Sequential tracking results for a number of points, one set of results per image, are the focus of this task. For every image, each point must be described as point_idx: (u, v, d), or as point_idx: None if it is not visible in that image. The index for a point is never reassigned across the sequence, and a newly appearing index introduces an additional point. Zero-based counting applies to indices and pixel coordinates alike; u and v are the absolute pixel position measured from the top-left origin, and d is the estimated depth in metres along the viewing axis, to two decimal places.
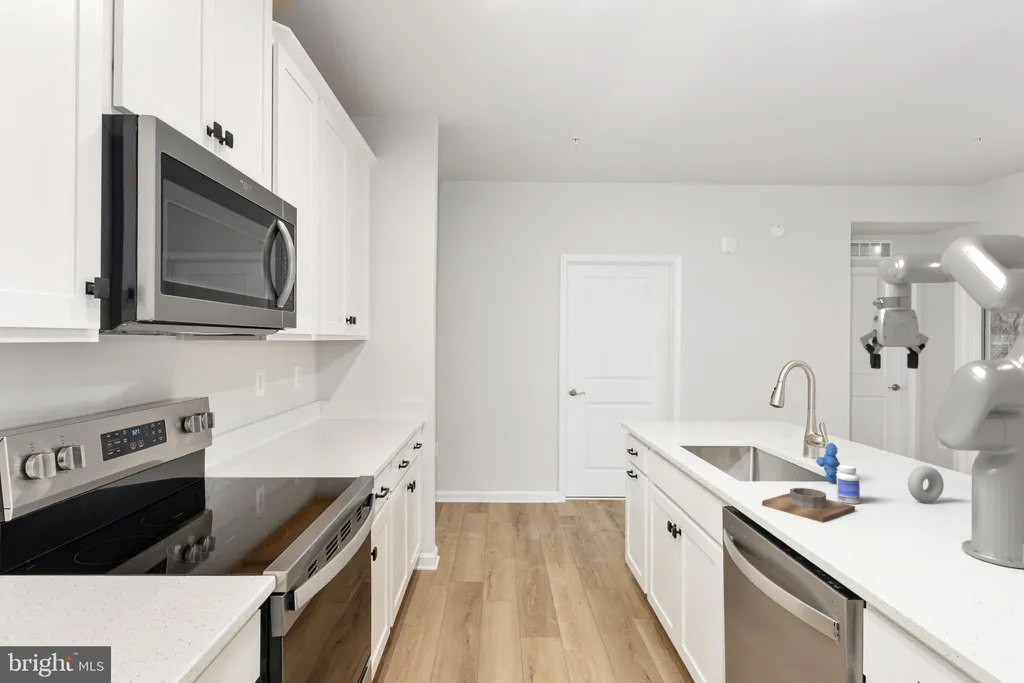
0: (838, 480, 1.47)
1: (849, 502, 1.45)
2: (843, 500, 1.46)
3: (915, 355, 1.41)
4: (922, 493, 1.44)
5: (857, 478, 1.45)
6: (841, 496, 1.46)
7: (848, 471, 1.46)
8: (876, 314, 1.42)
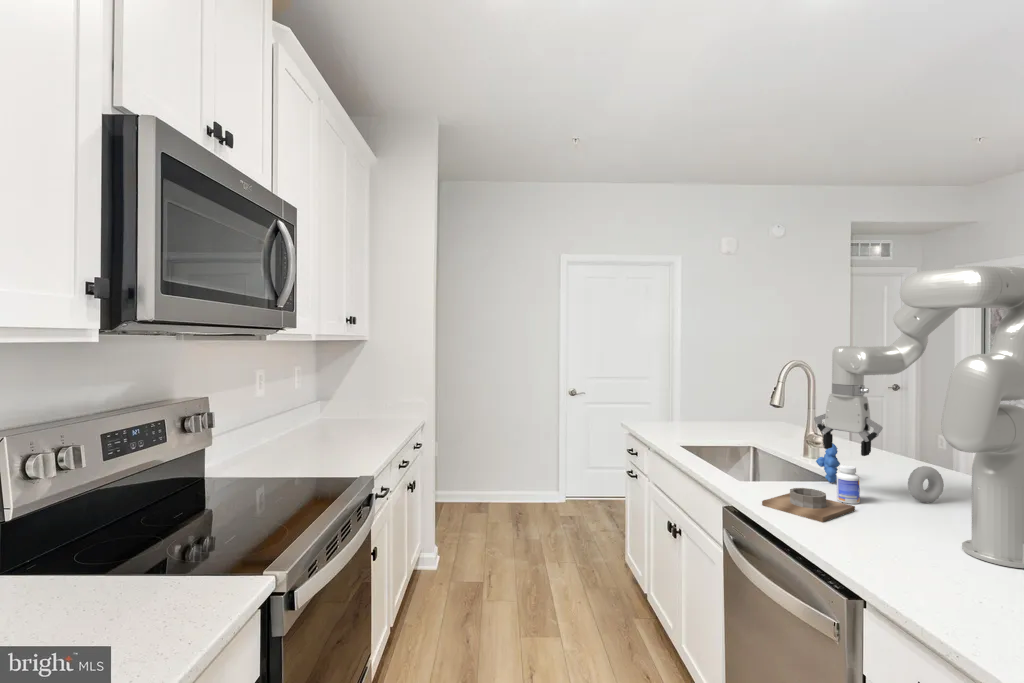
0: (838, 480, 1.47)
1: (849, 502, 1.45)
2: (843, 500, 1.46)
3: None
4: (922, 493, 1.44)
5: (857, 478, 1.45)
6: (841, 496, 1.46)
7: (848, 471, 1.46)
8: (865, 401, 1.43)
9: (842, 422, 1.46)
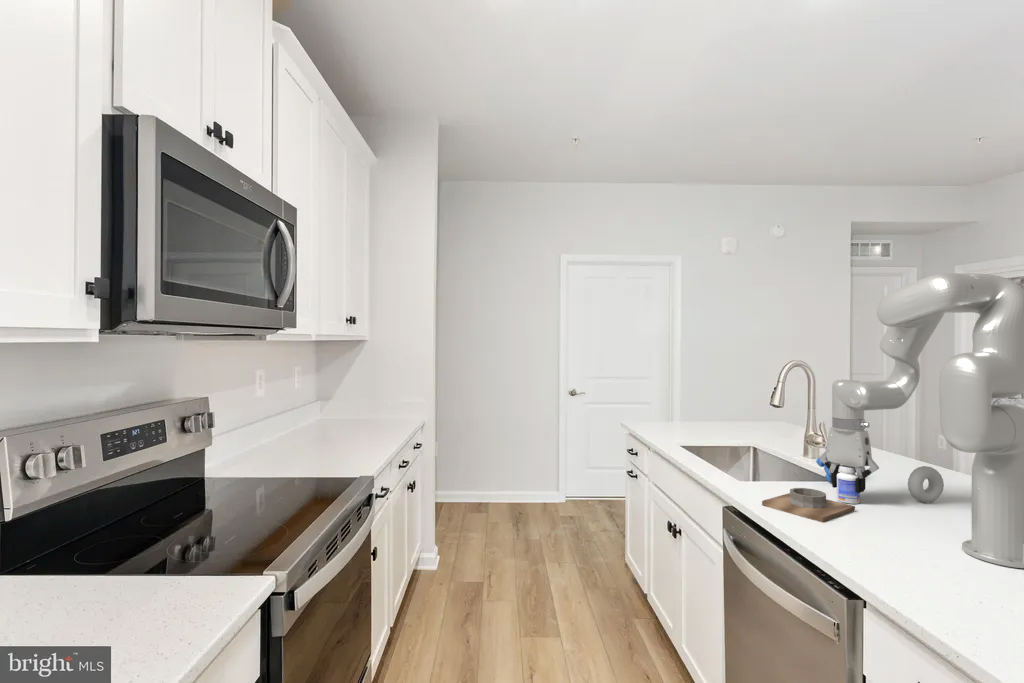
0: (838, 480, 1.47)
1: (849, 502, 1.45)
2: (843, 500, 1.46)
3: None
4: (922, 493, 1.44)
5: None
6: (841, 496, 1.46)
7: (848, 471, 1.46)
8: (866, 436, 1.43)
9: (844, 457, 1.46)
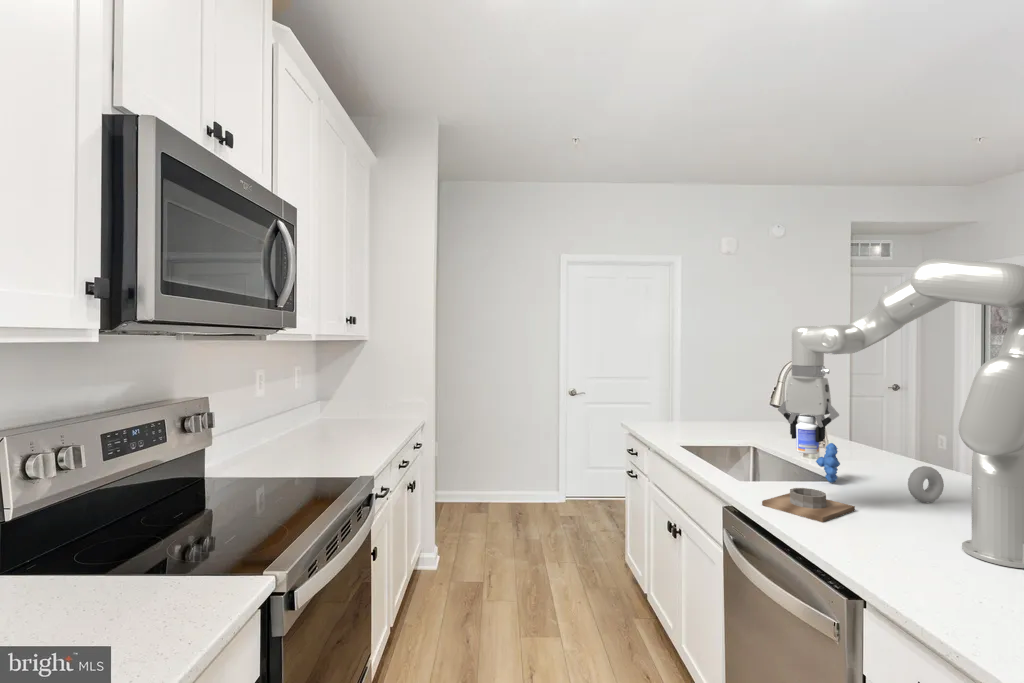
0: (798, 430, 1.41)
1: (809, 452, 1.39)
2: (803, 450, 1.40)
3: None
4: (922, 493, 1.44)
5: None
6: (801, 446, 1.40)
7: (807, 420, 1.40)
8: (826, 382, 1.38)
9: (803, 405, 1.40)
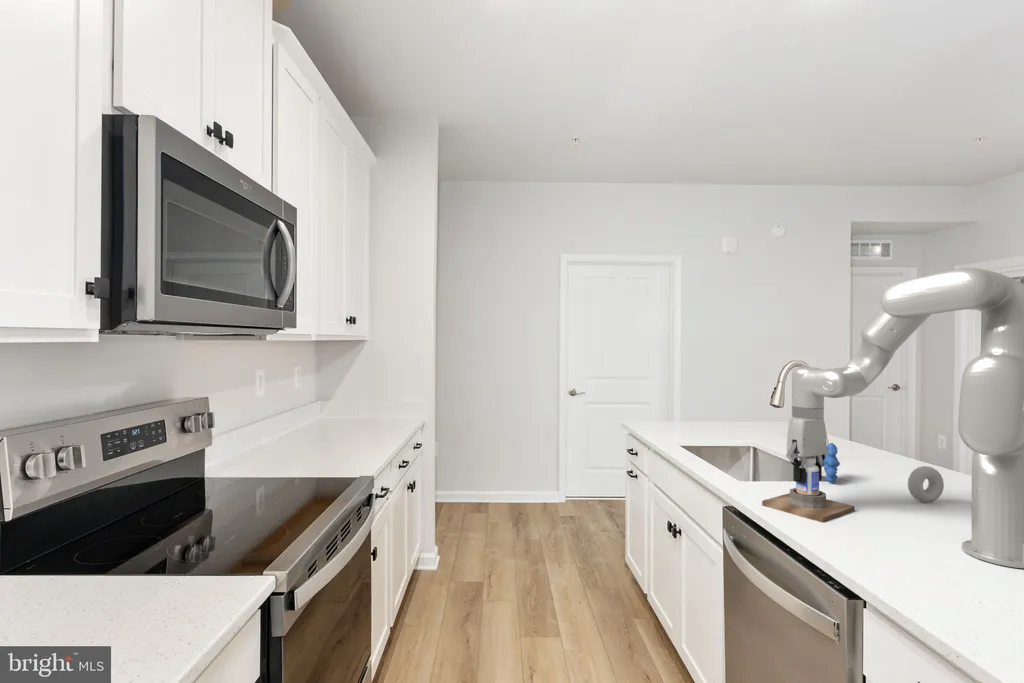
0: (811, 474, 1.39)
1: None
2: (817, 493, 1.39)
3: None
4: (922, 493, 1.44)
5: None
6: (815, 489, 1.39)
7: (815, 461, 1.40)
8: None
9: (815, 447, 1.40)
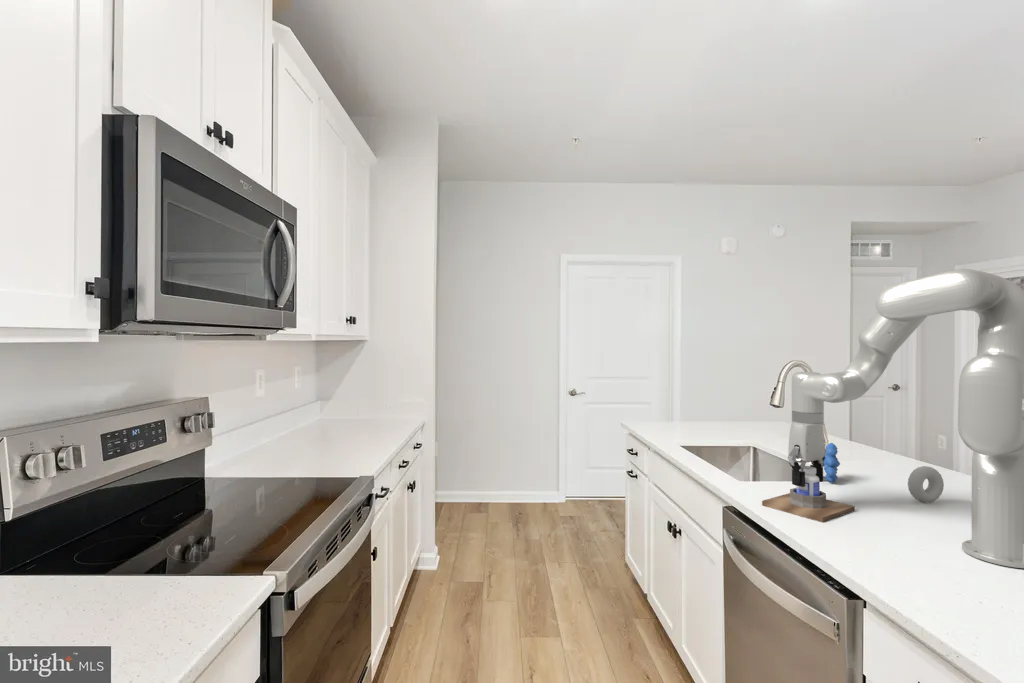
0: (813, 484, 1.39)
1: None
2: None
3: None
4: (922, 493, 1.44)
5: None
6: None
7: None
8: None
9: (816, 452, 1.40)
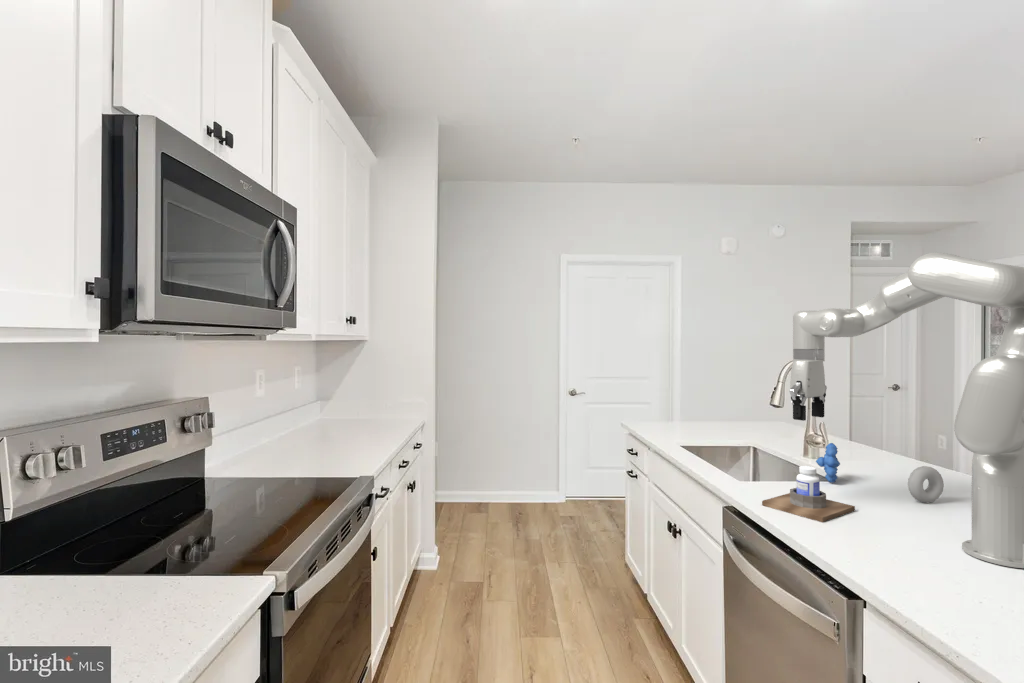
0: (813, 484, 1.39)
1: None
2: None
3: None
4: (922, 493, 1.44)
5: None
6: None
7: None
8: None
9: (817, 388, 1.43)
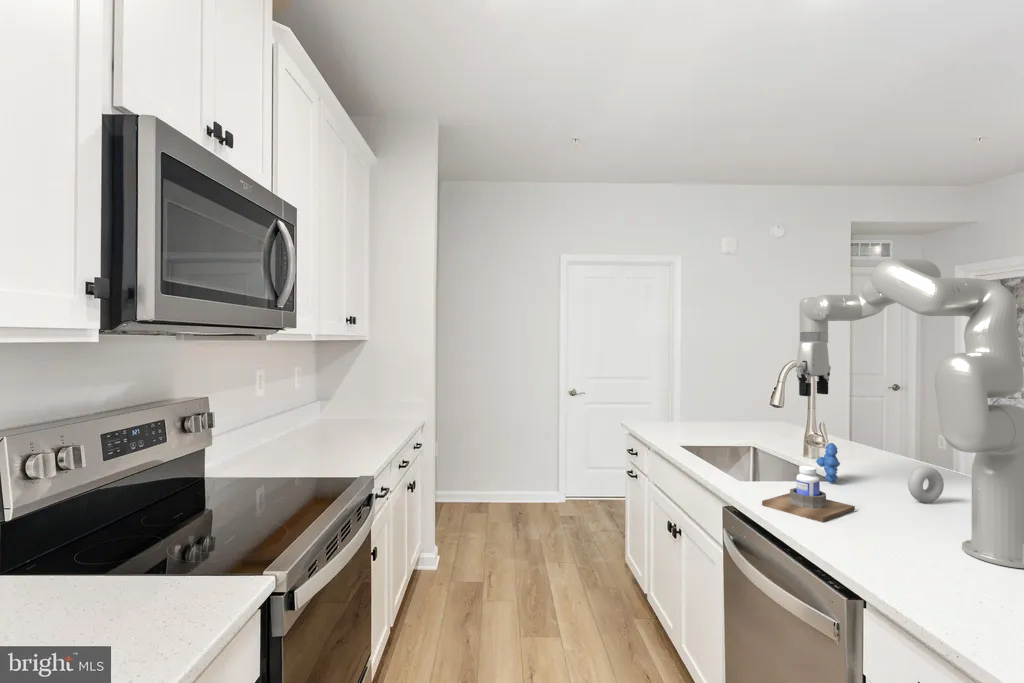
0: (813, 484, 1.39)
1: None
2: None
3: None
4: (922, 493, 1.44)
5: None
6: None
7: None
8: None
9: (821, 367, 1.58)
